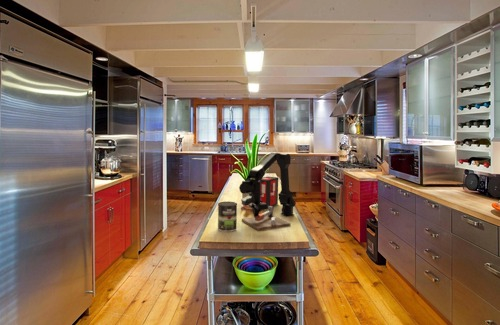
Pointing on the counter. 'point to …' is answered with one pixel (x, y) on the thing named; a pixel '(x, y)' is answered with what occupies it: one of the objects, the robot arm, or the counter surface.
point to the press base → (265, 223)
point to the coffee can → (227, 216)
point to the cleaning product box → (269, 191)
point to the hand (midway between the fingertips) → (255, 217)
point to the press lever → (265, 214)
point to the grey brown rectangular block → (273, 221)
